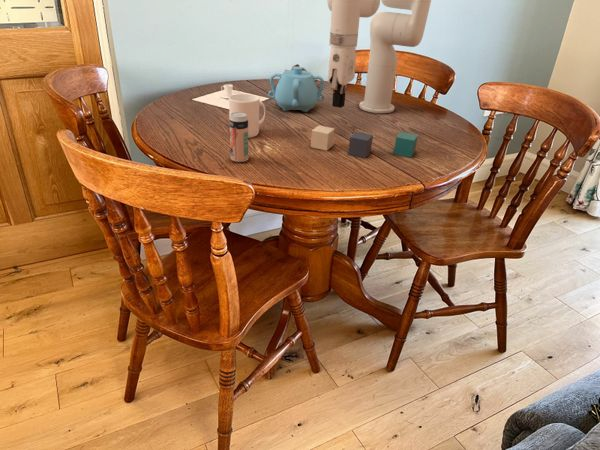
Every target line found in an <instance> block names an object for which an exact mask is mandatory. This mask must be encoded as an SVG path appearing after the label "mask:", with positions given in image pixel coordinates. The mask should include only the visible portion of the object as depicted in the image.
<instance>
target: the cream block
mask: <svg viewBox="0 0 600 450" xmlns="http://www.w3.org/2000/svg"><path fill="white" fill-rule="evenodd" d="M335 130H336V128H335V127H329V126H325V125H324V126H323V125H319V124H318V125H317V126H316V127H314V128H313V129H312V130H311V135H310V136H311V137H310V148H313V149H317V150H322V151H325V152H326V151H327V152H328V151H329V150H330V149H331V148H333V146H334V141H335Z"/></svg>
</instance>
